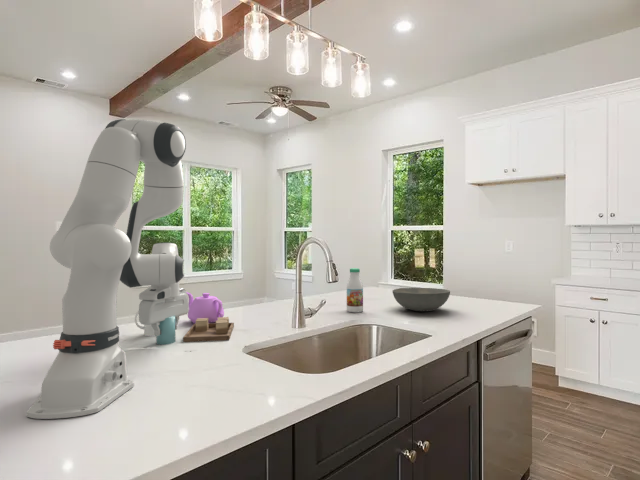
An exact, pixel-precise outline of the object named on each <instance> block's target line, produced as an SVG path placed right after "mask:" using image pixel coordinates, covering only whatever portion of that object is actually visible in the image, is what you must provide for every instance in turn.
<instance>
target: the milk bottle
mask: <svg viewBox="0 0 640 480" xmlns="http://www.w3.org/2000/svg"><path fill="white" fill-rule="evenodd" d="M349 274H350V275H349V277H348V280H347V283H346V311H347V312H349V313H362V312H363V311H364V287H363V286H364V285H363V282H362V280H361V277H360V268H356V267H353V268H352V267H350V268H349Z"/></svg>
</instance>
